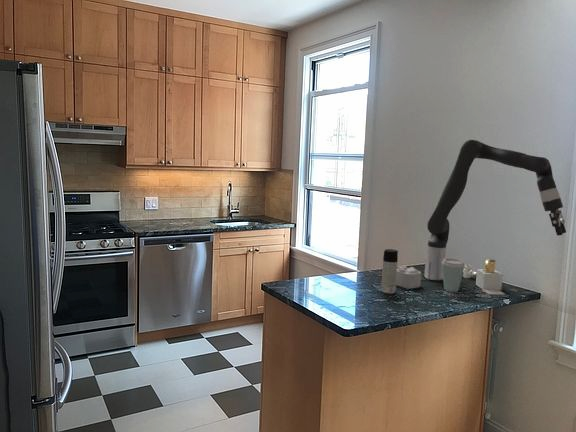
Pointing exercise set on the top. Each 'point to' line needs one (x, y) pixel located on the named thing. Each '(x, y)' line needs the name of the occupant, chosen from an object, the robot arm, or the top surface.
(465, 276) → the valve
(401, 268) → the lumpy-topped squat cylinder
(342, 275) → the top surface
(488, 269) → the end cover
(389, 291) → the spray can
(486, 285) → the box
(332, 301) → the top surface
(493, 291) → the mat
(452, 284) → the disposable coffee cup
